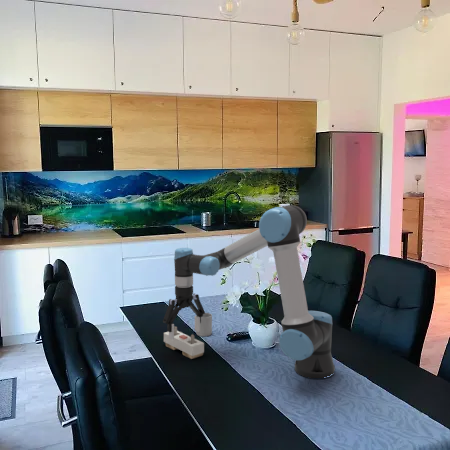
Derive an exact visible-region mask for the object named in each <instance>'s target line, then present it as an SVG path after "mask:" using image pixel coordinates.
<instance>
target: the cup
mask: <svg viewBox="0 0 450 450" xmlns="http://www.w3.org/2000/svg"><path fill="white" fill-rule="evenodd" d="M195 316H197V315H196V314H195ZM212 331H213V314H212V313H211V312H210V313H209V312H205V314H203V316H202V317H201V323H200V332H197V331H195V333H196V335H197V336H198V337H209V336H211V335H212V333H213V332H212Z"/></svg>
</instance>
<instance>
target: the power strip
mask: <svg viewBox="0 0 450 450" xmlns="http://www.w3.org/2000/svg"><path fill="white" fill-rule="evenodd" d="M163 342H164V343H165V344H166V343H167V344H169V345H171V346H173V347H175V348H177V349H176V350H180V351H183V352H185V353H187V354H189V355H191V356H194V355H197V354H200V353H203V354H204V353H205V342H203V341H201V340H198V339H197V338H194V344H191V335H188V334H185V333H183V332H182V331H179V330H177V335H176V336H174V340H172V339H169V332H168V331H166V332H163Z"/></svg>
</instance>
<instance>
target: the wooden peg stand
mask: <svg viewBox="0 0 450 450" xmlns="http://www.w3.org/2000/svg"><path fill="white" fill-rule="evenodd" d="M177 331H178V326H174V336H176V335H177ZM190 337H191V344H194V339H195V334H191V335H190ZM165 347H167V348H169V349H171V350H173V351H175V350H178V349H177V348H175V347H173V346H171V345H169V344H167V343H165ZM182 355H183V356H185V357H186V358H189V359H190V360H192V359H196V358H199V357H202V356H203V355H204V352H203V353H200V354H197V355H194V356H191V355H189V354H187V353H185V352H183V351H182Z"/></svg>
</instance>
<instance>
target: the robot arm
mask: <svg viewBox="0 0 450 450" xmlns="http://www.w3.org/2000/svg"><path fill="white" fill-rule="evenodd" d="M307 218H308V217H307V215H306V212H305V211H304V210H303V209H302V208H301V207H299V206H297V205H293V204H289V205H285V206H284V205H283V206H278V207H277V206H275V207H272V208H270V209H268V210H266V211H265V212H264V213H263V214H262V215H261V217H260V218H259V222H258V229H256V230H254V231H253V232H251V233H249V234H247V235H246V236H243V237H241V238H239V239H238V240H236V241H234V242H232V243H231V244H229V245H227V246H225V247H223V248H222V249H220V250H218V251H215V252H211V253H207V254H204V255H200V254H195V253H194V251H193V249H192V248H189V247H179V248H176V249H175V250H174V258H173V260H174V285H175V286H174V295H175V298H174V299H172V298H169V299H168V306H167V308H166V311H165V314H164V316H163V319H162V323H163V324H166V325H167V326H166V329H167V331H166V332H169V339H172V340H174V327H175V324H174V321H175V319H176V318H177V316H178V315H179V313H180V312H181V310H182V309H186V308H190V309H191V311H192V312H193V313H194V314H195V316H194V331H195V332H196V331H197V332H200V323H201V317H202V316H203V314H205V313H206V311H205V309H204V307H203V305H202V303H201V300H200V295H199V294H198V293H194V286H193V285H194V274H196V275H203V276H206V277H207V276H208V277H209V276H212V277H214V276H215V275H217V273H218V272H219V271H220V270H222V269H227V268H229V267H231V266H232V265H233V264H235V263H237V262H239V261H241V260H242V259H245V258H247V257H248V256H250V255H253V254H254V253H256V252H258V251H260V250H262V249H264V248H266V247H267V248H268V249H270V250H271V251H272V252H273V258H274V263H275V268H276V269H275V270H276V274H277V281H278V287H279V291H280V293H279V294H280V298H281V304H282V309H283V316H284V317H283V319H282V320H281V322H280V323H281V328H282V332H281V334H280V336H279V339H278V340H279V341H278V342H279V343H278V344H279V347H280V349H281V351H282V354H284V355H285V356H287V357H288V359H290V360H294V361H295V362H294V371H295V373H297V374H298V375H300V376H301V375H302V377H304V378H307V377H309V378H308V379H312V378H324V377H327V376H330V375H331V374H333V373H334V371H336V370H335V368H336V367H335V364H334V360H333V356H332V335H333V334H332V333H333V325H334V324H333V317H332V315H331V314H329V313H327V312H323V311H318V310H308V309H309V308H308V303H307V296H306V291H305V285H304V281H303V274H302V269H301V268H302V267H301V263H300V257H299V252H298V246H299V244H301V239H300V234H302V233H303V232H304V230H305V229H306V227H307V225H308V219H307ZM193 301H194V303H193ZM196 315H197V316H196ZM334 374H335V373H334Z"/></svg>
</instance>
